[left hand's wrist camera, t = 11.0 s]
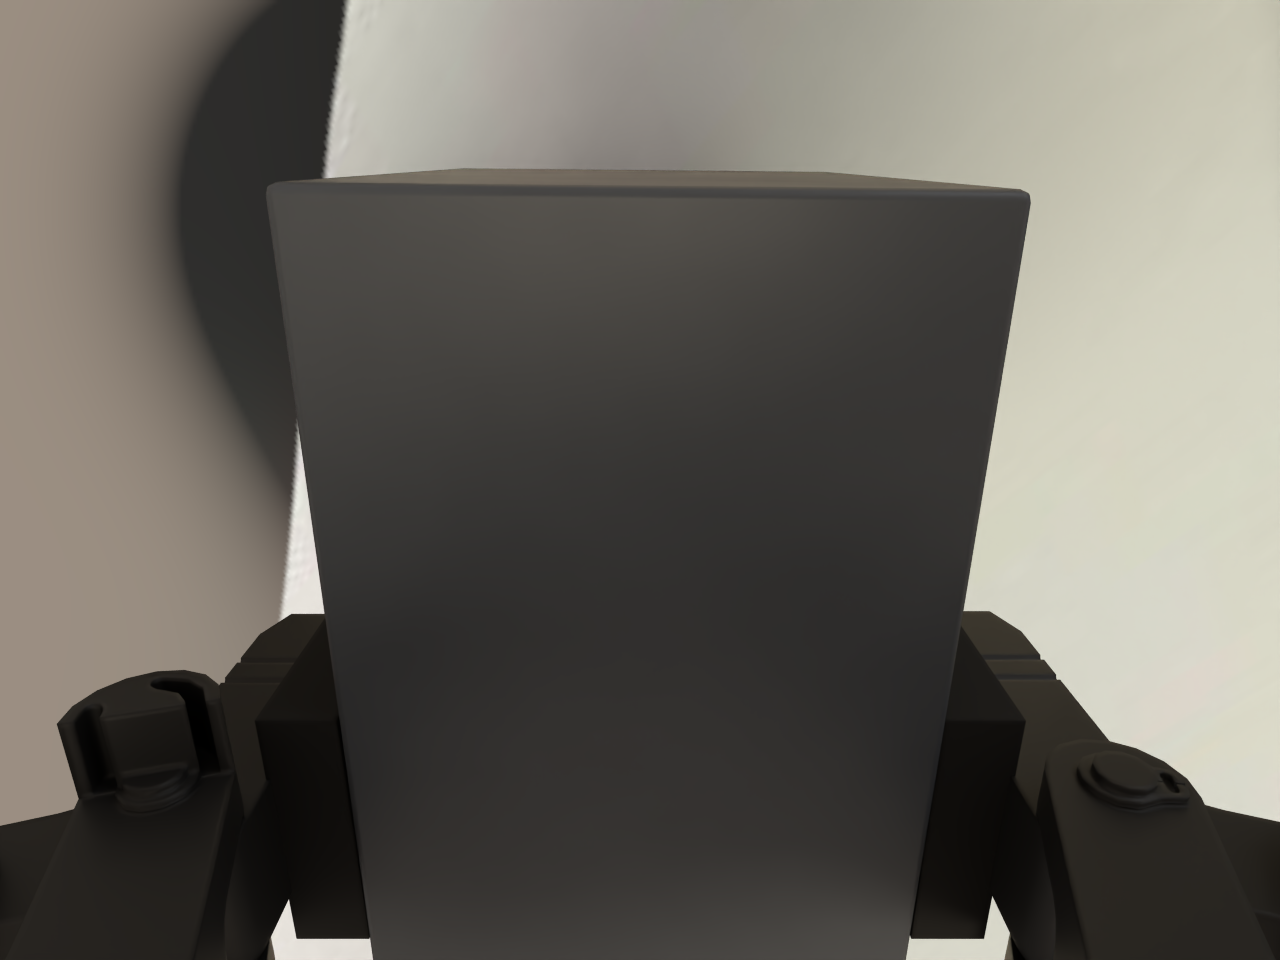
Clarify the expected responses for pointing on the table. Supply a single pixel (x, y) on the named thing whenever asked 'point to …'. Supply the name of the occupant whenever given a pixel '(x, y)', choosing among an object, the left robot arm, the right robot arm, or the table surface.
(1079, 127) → the table surface
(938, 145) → the table surface
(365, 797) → the bar
